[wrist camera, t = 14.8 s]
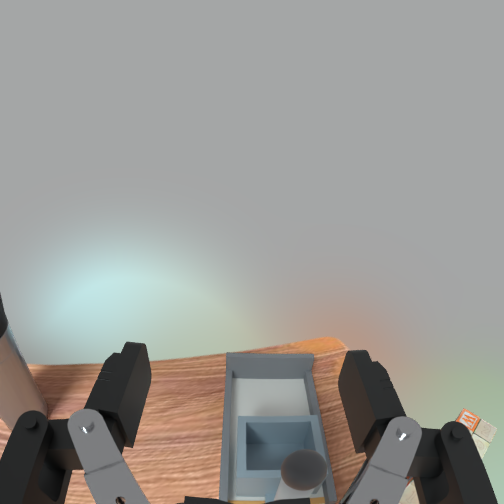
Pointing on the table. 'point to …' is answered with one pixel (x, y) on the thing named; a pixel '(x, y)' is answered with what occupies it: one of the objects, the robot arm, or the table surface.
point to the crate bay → (267, 409)
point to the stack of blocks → (481, 436)
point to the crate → (279, 457)
